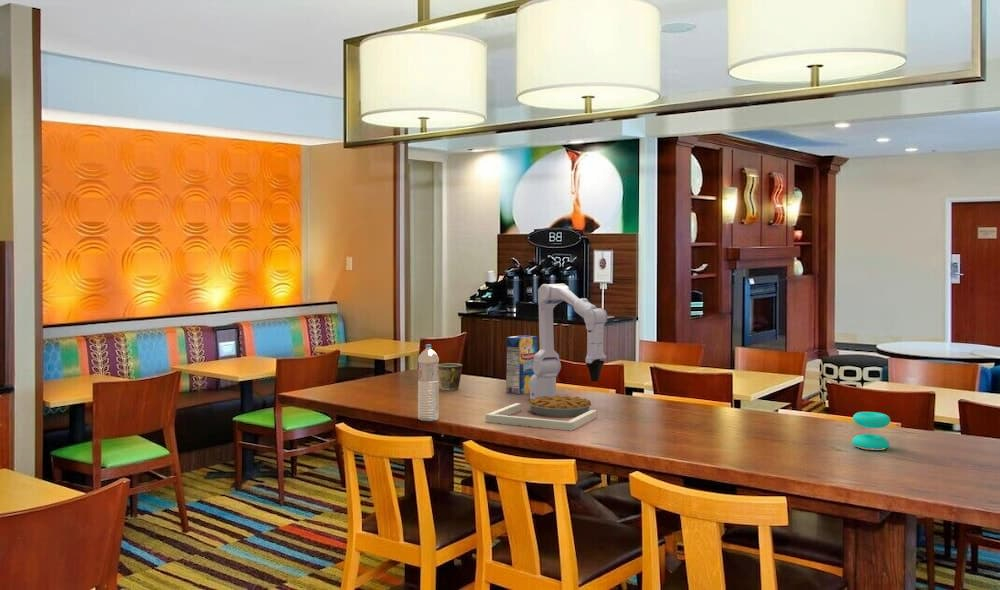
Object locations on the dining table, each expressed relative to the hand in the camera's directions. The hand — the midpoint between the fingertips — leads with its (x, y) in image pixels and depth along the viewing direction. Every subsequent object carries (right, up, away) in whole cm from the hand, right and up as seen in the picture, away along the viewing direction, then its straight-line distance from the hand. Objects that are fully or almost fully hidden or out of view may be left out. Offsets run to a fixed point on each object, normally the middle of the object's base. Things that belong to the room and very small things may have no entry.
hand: (594, 381), depth 316 cm
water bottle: (-57, -11, -18) cm, 61 cm away
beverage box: (-25, -8, +40) cm, 48 cm away
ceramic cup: (-53, -8, +43) cm, 69 cm away
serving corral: (-19, -11, -17) cm, 28 cm away
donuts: (+74, -14, -55) cm, 94 cm away
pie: (-12, -11, -2) cm, 17 cm away
